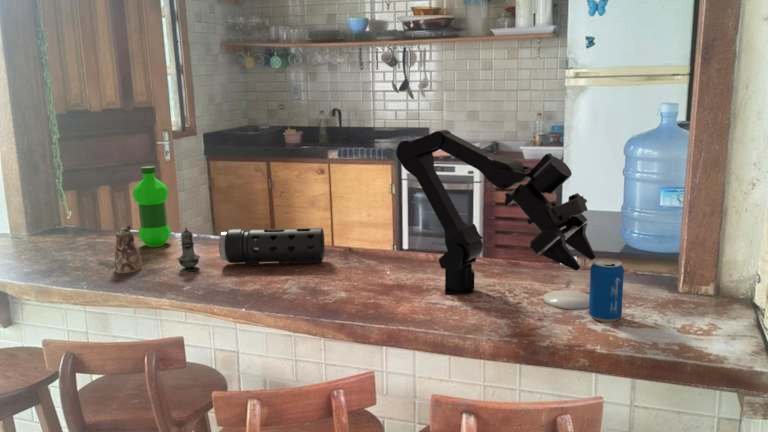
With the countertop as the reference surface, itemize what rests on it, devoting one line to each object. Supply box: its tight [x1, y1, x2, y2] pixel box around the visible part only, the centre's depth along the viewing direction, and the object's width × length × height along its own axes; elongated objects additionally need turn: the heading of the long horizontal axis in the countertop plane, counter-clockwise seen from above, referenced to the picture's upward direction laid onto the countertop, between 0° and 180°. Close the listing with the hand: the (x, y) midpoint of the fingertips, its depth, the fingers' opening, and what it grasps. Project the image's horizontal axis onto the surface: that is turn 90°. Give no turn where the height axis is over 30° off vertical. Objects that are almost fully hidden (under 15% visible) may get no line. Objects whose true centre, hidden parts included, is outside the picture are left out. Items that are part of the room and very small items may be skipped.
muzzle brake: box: [218, 227, 326, 266], centre depth 184 cm, size 10×28×10 cm, turn 89°
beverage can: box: [588, 258, 625, 323], centre depth 137 cm, size 6×6×12 cm
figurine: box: [114, 225, 143, 274], centre depth 183 cm, size 7×7×12 cm
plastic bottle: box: [132, 165, 172, 248], centre depth 208 cm, size 10×10×25 cm
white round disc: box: [543, 290, 590, 310], centre depth 148 cm, size 11×11×1 cm
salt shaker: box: [177, 227, 201, 274], centre depth 180 cm, size 6×6×12 cm
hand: (586, 263), depth 138 cm, fingers open, 9 cm apart
